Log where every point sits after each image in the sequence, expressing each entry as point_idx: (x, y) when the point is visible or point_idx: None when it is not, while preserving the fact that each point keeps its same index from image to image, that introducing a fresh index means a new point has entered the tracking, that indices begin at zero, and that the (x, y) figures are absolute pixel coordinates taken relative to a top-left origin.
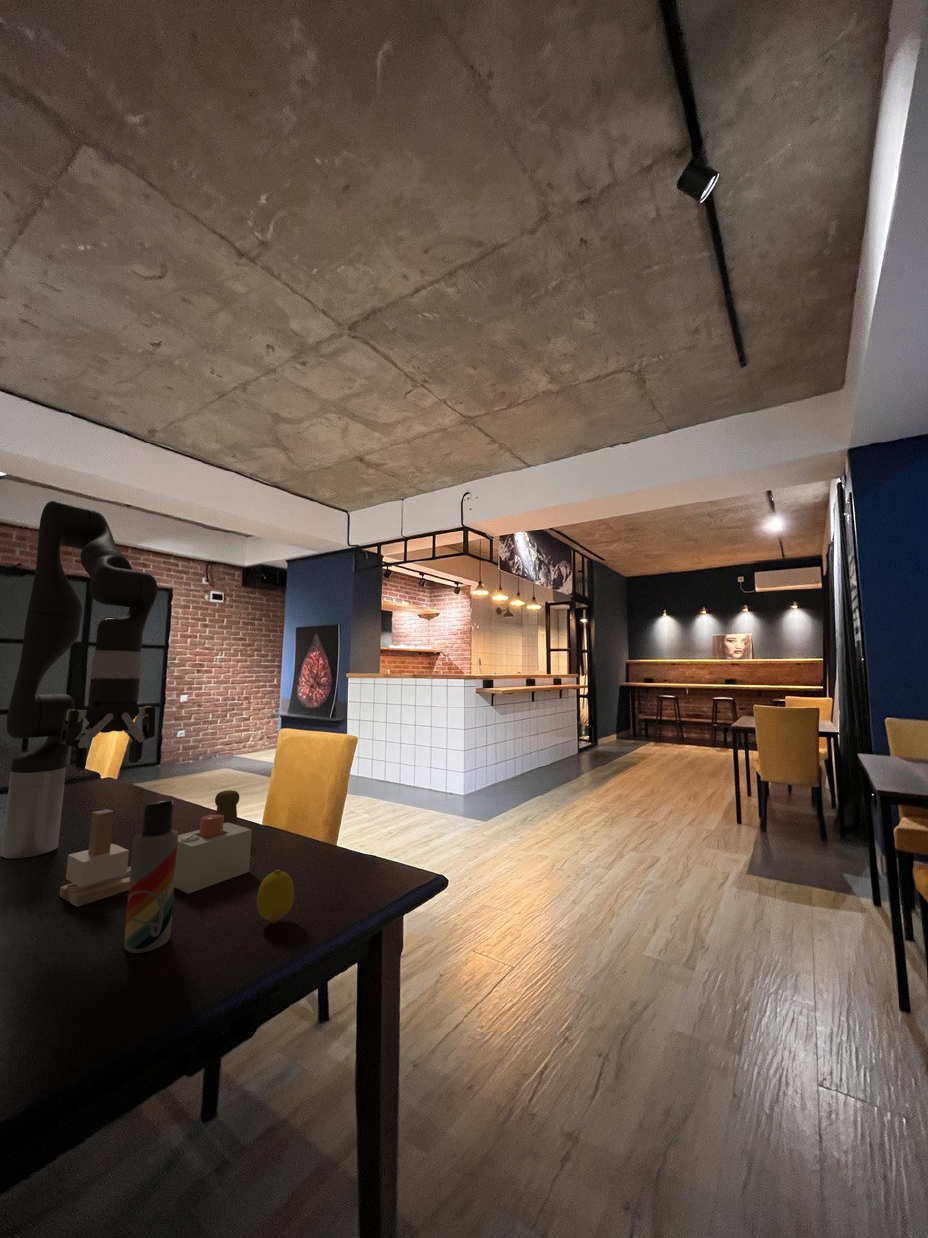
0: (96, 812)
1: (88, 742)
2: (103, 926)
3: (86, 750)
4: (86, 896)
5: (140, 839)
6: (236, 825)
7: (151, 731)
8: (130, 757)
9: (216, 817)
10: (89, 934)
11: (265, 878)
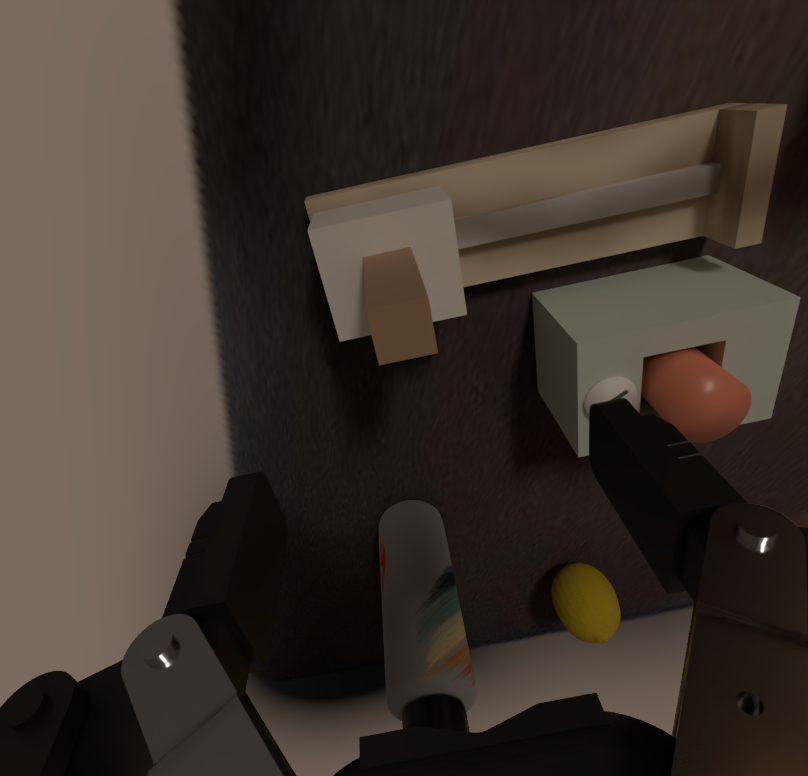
0: (378, 328)
1: (265, 728)
2: (368, 431)
3: (267, 652)
4: None
5: (395, 715)
6: (783, 352)
7: None
8: (605, 442)
9: (719, 420)
10: (343, 446)
11: (581, 627)
